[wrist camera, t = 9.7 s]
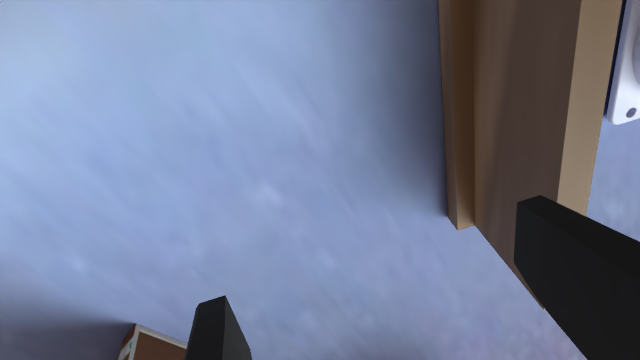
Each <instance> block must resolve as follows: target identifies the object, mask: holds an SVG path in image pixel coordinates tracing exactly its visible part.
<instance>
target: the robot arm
mask: <svg viewBox="0 0 640 360" xmlns="http://www.w3.org/2000/svg"><path fill="white" fill-rule="evenodd" d="M628 110H629V111H628ZM627 111H628V112H627ZM638 118H640V0H627V1H626V7H625V13H624V18H623V24H622V30H621V36H620V41H619V47H618V53H617V59H616V64H615V70H614V76H613V81H612V87H611V93H610V99H609V104H608V110H607V120H608V121H609V122H611V123H612V124H614V125H619V124H622V123H625V122H629V121H632V120H635V119H638ZM513 262H514V264H515V265H516V267H517V269H518V270H519V272H520V274H521V275H522V277H523V278H524V280H525V282H526V283H527V285H528V286H529V288H530V289H531V291H532V292H533V294H534V295H535V297H536V298H537V299H538V301H539V302H540V303H541V304H542V306H543V307H544V308H545V309H546V311H547V312H548V313H549V314H550V315H551V317H552V318H553V319H554V320H555V321H556V323H557V324H558V325H559V326H560V327H561V329H562V330H563V331H564V332H565V333H566V335H567V336H568V337H569V338H570V339H571V341H572V342H573V343H574V344H575V345H576V347H577V348H578V349H579V350H580V351H581V353H582V354H583V355H584V356H585V357H586V358H587V360H640V242H639V241H637V240H635V239H632V238H630V237H628V236H626V235H624V234H622V233H619V232H617V231H615V230H613V229H611V228H609V227H607V226H605V225H602V224H600V223H598V222H596V221H594V220H592V219H590V218H588V217H586V216H584V215H582V214H580V213H578V212H576V211H574V210H571V209H569V208H567V207H565V206H563V205H561V204H559V203H557V202H555V201H553V200H551V199H548V198H546V197H544V196H542V195H538V196H535V197H532V198H529V199H526V200H523V201H519V202H517V211H516V228H515V245H514V261H513ZM183 360H252V357H251V352H250V348H249V346H248V344H247V342H246V339H245V337H244V335H243V333H242V331H241V329H240V326H239V324H238V322H237V320H236V318H235V315H234V313H233V311H232V309H231V307H230V304H229V302H228V300H227V298H226V296H222V297H218V298H215V299H212V300H209V301H206V302H203V303H200V304H199V305H198V306H197V308H196V311H195V316H194V321H193V325H192V329H191V333H190V337H189V341H188V345H187V349H186V352H185V356H184V359H183Z"/></svg>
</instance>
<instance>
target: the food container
mask: <svg viewBox="0 0 640 360" xmlns="http://www.w3.org/2000/svg"><path fill="white" fill-rule="evenodd" d="M187 345H188V344H187V343H185V342H182V341H180V340H177V339H174V338H172V337H169V336H167V335H164V334H162V333H159V332H157V331H154V330H151V329H149V328H146V327H144V326H141V325H139V324H136V325H135V326H134V327H133V328H132V329H131V331H130V332H129V333H128V334H127V336H126V337H125V338H124V340H123V343H122V346H121V349H120V352H119V355H118V358H117V360H183V359H184V356H185V352H186V349H187Z"/></svg>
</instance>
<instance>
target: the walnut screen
mask: <svg viewBox="0 0 640 360" xmlns="http://www.w3.org/2000/svg"><path fill="white" fill-rule="evenodd" d="M621 6H622V0H438V8H439V29H440V51H441V72H442V93H443V114H444V135H445V156H446V178H447V199H448V219H449V220H450V221H451V223H452V224H453V225H454V226H455V228H456V229H457V230H458V231H459V230H462V229H465V228H468V227H471V226H474V225H475V226H476V227H477V228H478V230H479V231H480V232H481V233H482V235H483V236H484V237H485V238H486V240H487V241H488V242H489V243H490V244H491V246H492V247H493V248H494V249H495V251H496V252H497V253H498V254H499V256H500V257H501V258H502V259H503V260H504V262H505V263H506V264H507V265H508V267H509V268H510V269H511V270H512V272H513V273H514V274H515V275H516V276H517V278H518V279H519V280H520V281H521V283H522V284H523V285H524V286H525V288H526V289H527V290H528V291H529V292H530V294H531V295H532V296H533V297H534V299H535V300H536V301H537V302H538V304H539V305H540V306H541V307H542V308H543V310H546V309H545V308H544V307H543V306H542V304H541V303H540V302H539V301H538V299H537V298H536V297H535V295H534V294H533V292H532V291H531V289H530V288H529V286H528V285H527V283H526V282H525V280H524V278H523V277H522V275H521V274H520V272H519V270H518V269H517V267H516V265H515V264H514V262H513V261H514V245H515V228H516V211H517V202H519V201H523V200H526V199H529V198H532V197H535V196H538V195H542V196H544V197H546V198H548V199H551V200H553V201H555V202H557V203H559V204H561V205H563V206H565V207H567V208H569V209H571V210H574V211H576V212H578V213H580V214H582V215H584V216H586V212H587V206H588V201H589V195H590V189H591V183H592V177H593V171H594V165H595V159H596V153H597V147H598V142H599V136H600V130H601V124H602V118H603V112H604V106H605V100H606V94H607V88H608V82H609V77H610V71H611V65H612V59H613V53H614V47H615V41H616V35H617V29H618V23H619V18H620V12H621Z"/></svg>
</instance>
